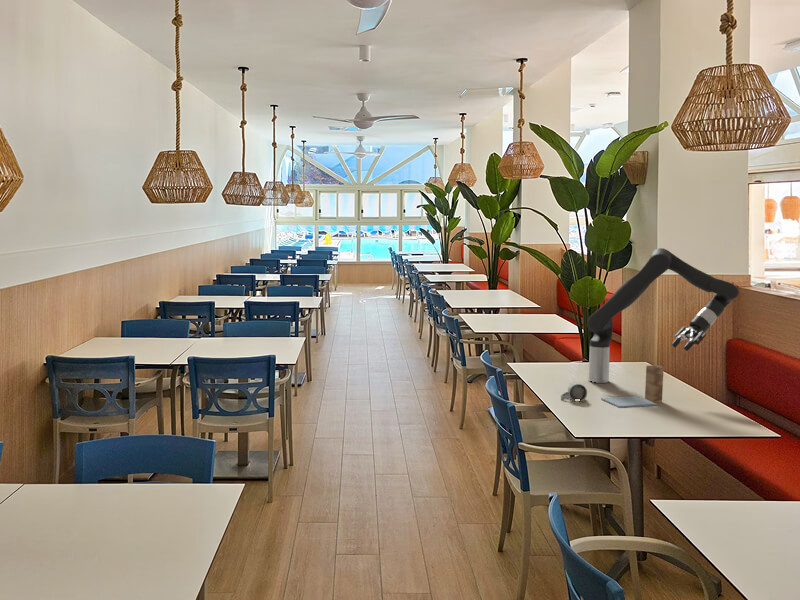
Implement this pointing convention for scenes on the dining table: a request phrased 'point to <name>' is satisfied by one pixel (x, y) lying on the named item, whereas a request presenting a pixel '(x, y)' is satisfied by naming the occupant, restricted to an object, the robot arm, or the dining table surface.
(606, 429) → the dining table surface
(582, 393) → the ceramic mug
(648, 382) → the walnut block
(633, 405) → the slate mat
